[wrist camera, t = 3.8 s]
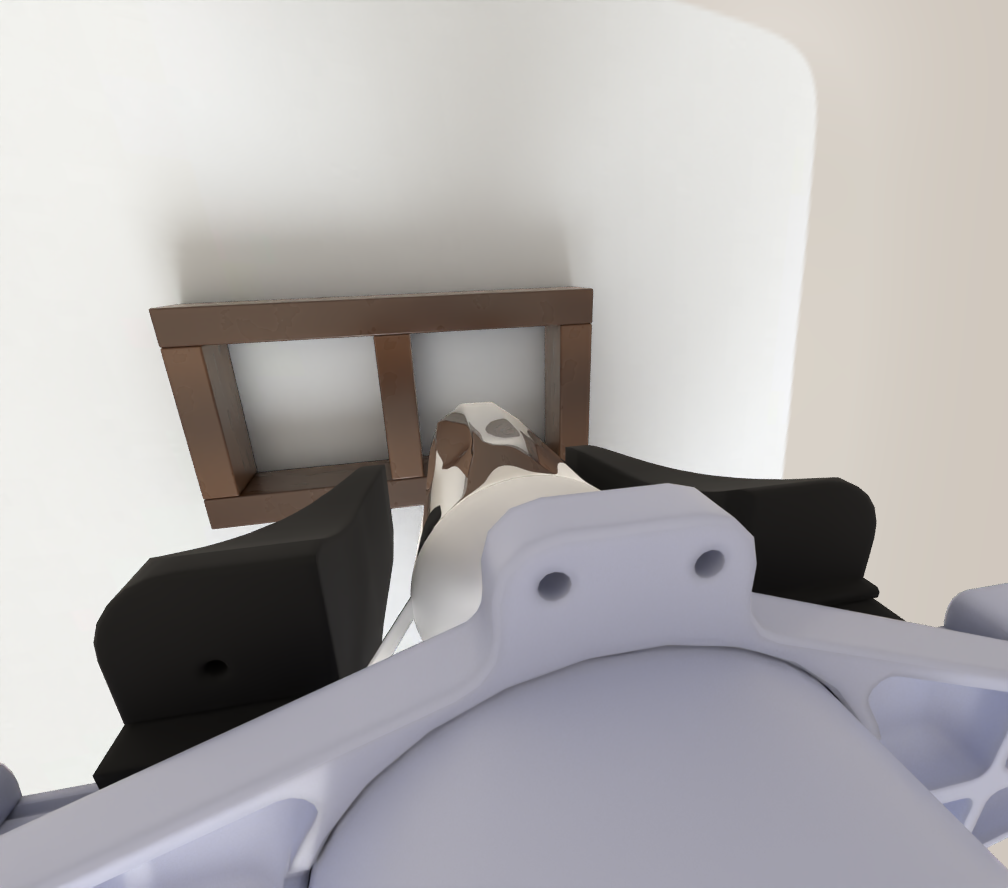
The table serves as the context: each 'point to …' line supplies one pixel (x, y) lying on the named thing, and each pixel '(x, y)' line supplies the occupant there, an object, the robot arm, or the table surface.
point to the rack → (390, 319)
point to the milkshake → (472, 511)
